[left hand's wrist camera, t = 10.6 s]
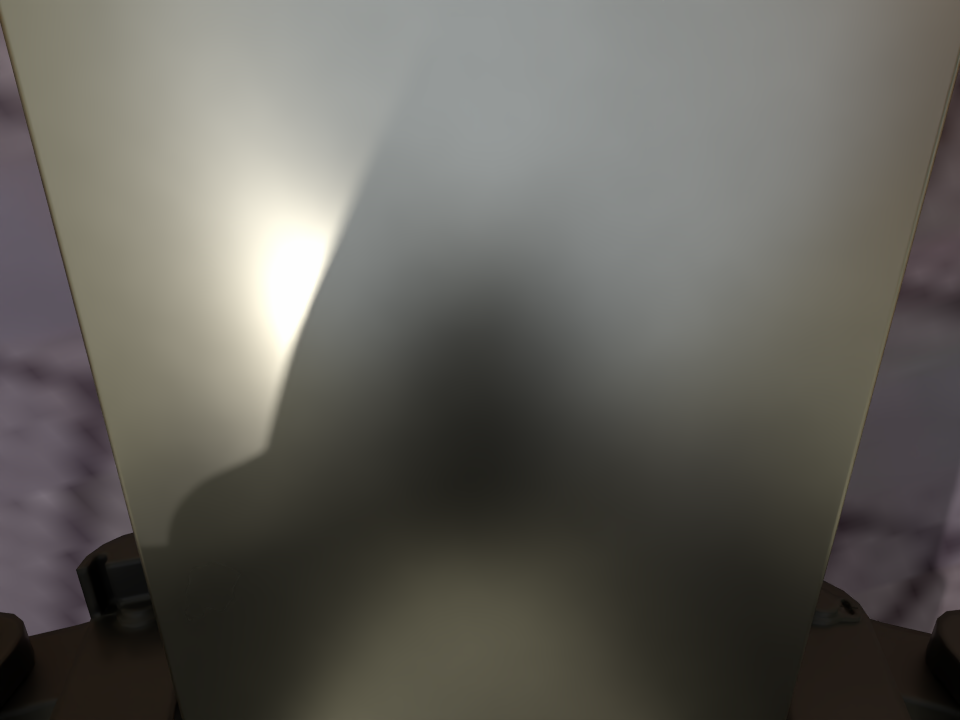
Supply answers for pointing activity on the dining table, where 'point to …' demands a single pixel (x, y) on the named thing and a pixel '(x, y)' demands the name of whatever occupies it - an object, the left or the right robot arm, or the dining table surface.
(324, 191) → the bar
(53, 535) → the dining table surface
